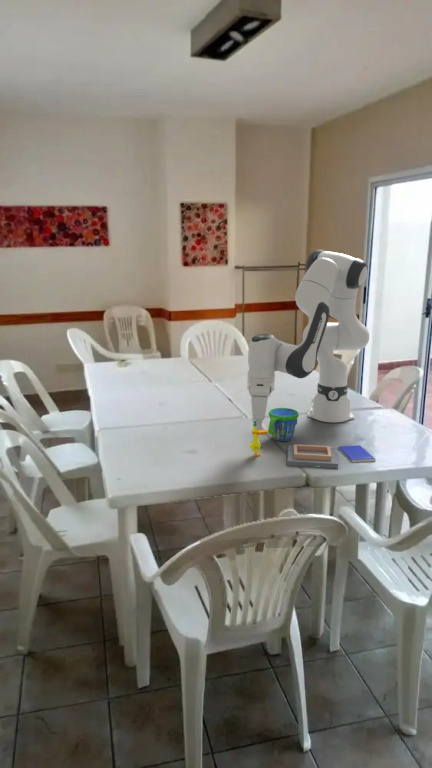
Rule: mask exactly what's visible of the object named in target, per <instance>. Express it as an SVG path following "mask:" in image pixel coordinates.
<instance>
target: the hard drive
mask: <svg viewBox="0 0 432 768" xmlns="http://www.w3.org/2000/svg"><path fill="white" fill-rule="evenodd" d="M338 450H339V451H340V452H341V453H342V454H343V455H344V457H346V459H348V461H350V463H365V462H376V458H375V457H374V456H373V455H371V454H370V452H368V451H367V450H366V449H365V448H364V447H363V446H362V445H359V444H358V445H357V444H355V445H339V446H338Z"/></svg>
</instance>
